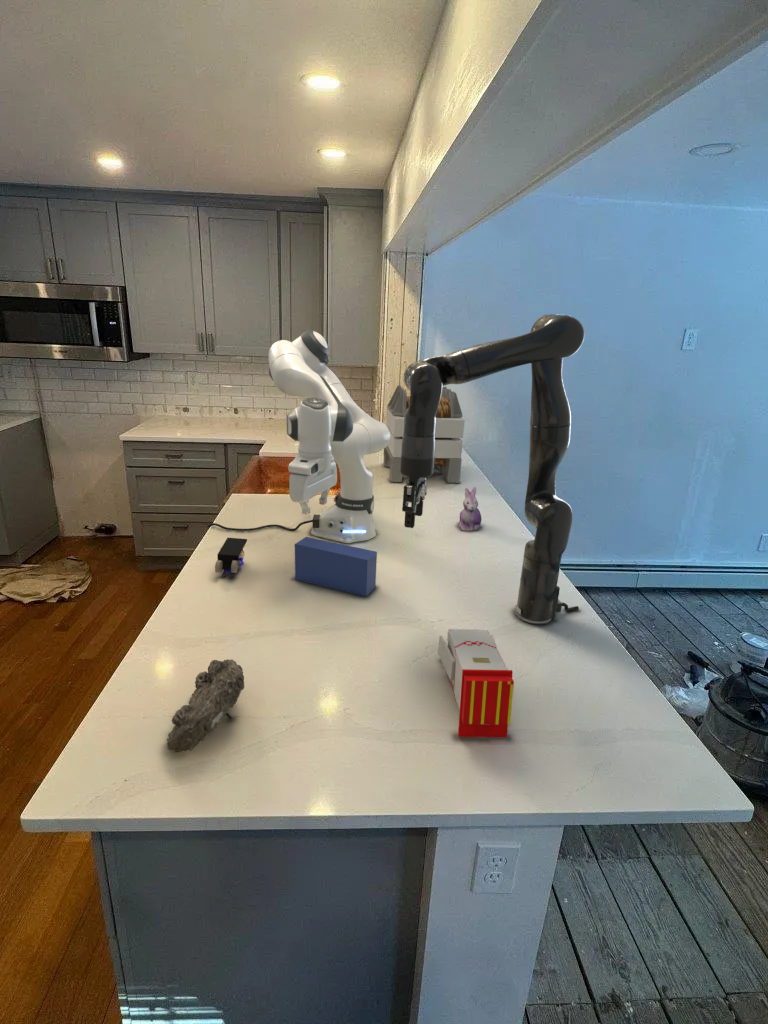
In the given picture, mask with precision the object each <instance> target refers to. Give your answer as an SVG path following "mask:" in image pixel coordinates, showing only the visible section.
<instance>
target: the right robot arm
mask: <svg viewBox="0 0 768 1024" xmlns="http://www.w3.org/2000/svg"><path fill="white" fill-rule="evenodd" d="M584 341H585V329H584V327H583V324H582V322H581V321H580V320H579V319H577V318H576V317H574V316H572V315H568V314H557V313H546V314H543V315H541V316H539V317H538V318H537V319H536V320H535V321H534V323H533V325H532V326H531V329H530V331H529V332H527V333H524V334H521V335H517V336H514V337H509V338H503V339H499V340H492V341H487V342H482V343H479V344H475V345H472V346H467V347H465V348H462V349H459V350H456V351H453V352H451V353H447V354H443V355H438V356H433V357H428V358H423V359H419V360H416V361H413V362H412V363H410V365H408V366H407V367H406V369H405V371H404V373H403V384H404V385H405V387H406V388H407V390H408V391H409V392H410V393H409V396H410V402H409V408H408V409H407V410H406V412H405V417H404V433H403V439H402V450H401V467H400V472H401V473H402V474H403V475H402V476H404V477H405V476H406V477H407V478H408V481H407V482H405V484H404V486H403V495H402V496H403V498H402V508H401V510H402V512H404V524H403V525H404V527H405V528H408V529H413V528H415V524H416V523H415V522H416V516H417V517H421V516H423V512H424V511H423V510H424V501H425V499H426V496H427V493H428V492H427V490H428V489H427V487H428V478H430V477H432V476H433V474H434V471H435V470H434V467H435V466H434V457H435V428H436V413H437V410H438V407H439V402H440V398H441V394H442V387H446V386H447V385H462V384H463V385H464V384H466V383H469V382H472V381H476V380H479V379H482V378H485V377H488V376H490V375H494V374H497V373H500V372H503V371H506V370H509V369H510V370H511V369H513V368H517V367H520V366H524V365H528V364H530V367H531V368H530V369H531V390H530V391H531V392H530V393H531V394H530V417H529V418H530V419H529V454H528V479H527V485H526V491H525V498H524V507H523V508H524V509H523V511H524V516H525V519H526V520H527V522H528V523H529V524H530V525H531V526H532V527H534V528H535V529H536V531H535V536H534V539H530V540H528V541H527V542H526V543H525V545H524V551H523V559H522V566H521V572H520V573H521V574H520V579H519V586H518V593H517V600H516V604H515V608H514V610H515V612H514V613H515V615H516V617H517V618H518V619H519V620H521V621H523V622H525V623H528V624H533V625H545V624H549V623H550V622H552V621H555V620H556V614H557V613H561V612H562V607H563V608H564V609H563V610H564V611H565V612H574V611H578V610H579V609H580V608H579V606H577V605H576V606H572V607H569V605H568V604H567V603H566V602H563V601H562V602H561V601H560V599H559V595H560V591H561V590H560V589H561V588H560V586H559V585H558V581H559V575H560V569H561V563H562V558H563V557H562V556H563V554H564V552H565V551H566V549H567V546H568V543H569V538H570V534H571V529H572V525H573V518H574V517H573V509H572V507H571V505H570V504H569V503H568V502H566V501H565V500H564V499H562V498H560V497H558V496H557V493H556V482H557V481H556V479H557V472H558V468H559V467H560V464H561V462H562V461H563V459H564V457H565V455H566V454H567V451H568V449H569V446H570V442H571V430H572V429H571V427H572V413H571V408H570V404H569V399H568V396H567V393H566V390H565V386H564V381H563V362H564V359H566V358H569V357H571V356H573V355H575V354H576V353H577V352H578V351H579V350H580V349H581V347H582V345H583V343H584ZM409 504H410V506H409Z"/></svg>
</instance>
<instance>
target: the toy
mask: <svg viewBox="0 0 768 1024" xmlns="http://www.w3.org/2000/svg"><path fill="white" fill-rule="evenodd" d="M446 640H447V643H446V641H445V639H444V636H443V635H442V634H439V637H438V646H437V656H438V657H439V659H440V661H441V663H442V666H443V668H444V670H445V672H446V674H447V677H448V679H449V681H450V684H451V687H452V690H453V693H454V697H455V701H456V705H457V708H458V711H459V714H458V715H459V716H458V730H457V731H458V732H457V737H458V738H508V731H509V726H510V725H511V717H512V707H513V697H514V696H513V695H514V684H515V680H514V679H513V673H514V671H513V670H512V669H508V667H507V665H506V662H505V661H504V659H503V658H502V655H501V653H500V651H499V649H498V647H497V643H496V639H495V637H494V635H493V634H491V632H490V631H489V629H467V628H466V629H465V628H463V629H461V628H460V629H459V628H448V630H447V639H446Z"/></svg>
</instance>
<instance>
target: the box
mask: <svg viewBox="0 0 768 1024" xmlns="http://www.w3.org/2000/svg"><path fill="white" fill-rule="evenodd" d="M377 560H378V551H375V550H371V549H367V548H361V547H356V546H352V545H347V544H344V543H339V542H333V541H329V540H324V539H319V538H315V537H310V536H305V537H303V538H302V539H300V540H299V541H297V542H296V543H294V579H295V580H297V581H301V582H306V583H309V584H313V585H317V586H321V587H326V588H330V589H333V590H338V591H342V592H345V593H350V594H354V595H359V596H361V597H368V595H370V593H371V592H372V591H373V590H375V588H376V584H377V583H376V582H377V562H378V561H377Z"/></svg>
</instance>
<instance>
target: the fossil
mask: <svg viewBox="0 0 768 1024" xmlns="http://www.w3.org/2000/svg"><path fill="white" fill-rule="evenodd" d="M243 670H244V669H243V667H242V665H240V664H237V662H236V661H235V660H234V659H232V658H231V659H227V658H226V659H224V660H223V661H222V660H217V659H212V660H211V661H210V663H209V665H208V666H207V671H201V672H199V673H198V674H197V675H196V676H195V680H194V684H195V685H194V687H195V689H194V690H193V693H192V694H191V697H190V698H189V700H188V704H184V705H182V706H181V707H180V709H177V710H176V711H175V713H174V715H173V716H172V718H171V723H172V724H173V727H172V730H171V731H170V732H168V734H167V738H166V741H167V742H166V745H167V749H168V750H169V751H173V752H174V753H176V754H178V753H182V752H188V751H189V752H192V751H193V750H195V748H196V747H197V746H199V744H200V743H201V742H203V741H204V740H205V739H206V738H207V737H208V736H209V735H210V734H211V733H212V732H214V730H215V729H217V727H218V726H219V724H220V722H221V721H222V720H223V719H224V718H225V716H226V717H227V719H229V720H233V717H232V715H230V714H229V710H230V709H231V708H234V706H235V704H236V703H237V702H238V699H239V697H240V695H241V693H242V691H243V690H245V689H244V688H245V675H244V671H243Z"/></svg>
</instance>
